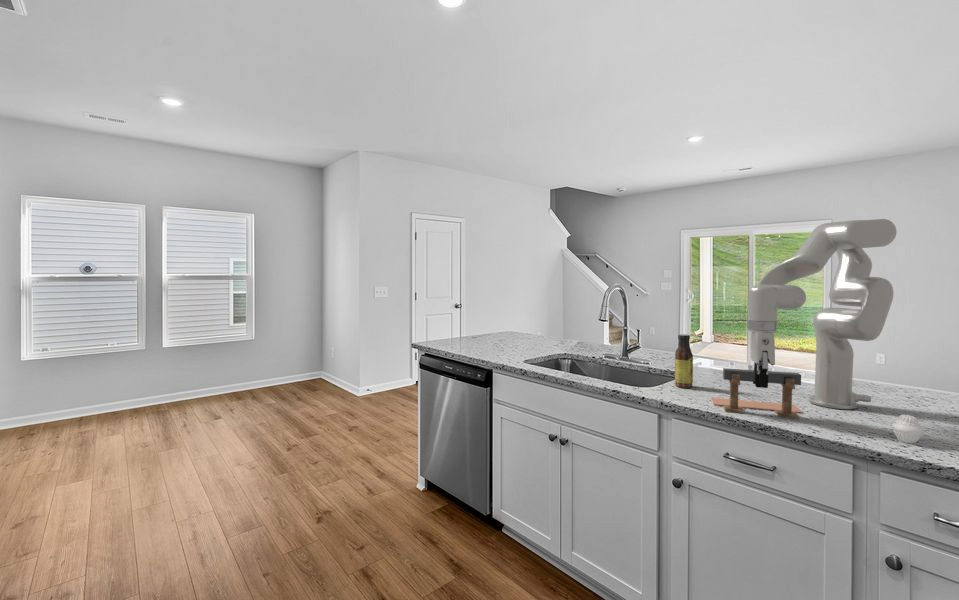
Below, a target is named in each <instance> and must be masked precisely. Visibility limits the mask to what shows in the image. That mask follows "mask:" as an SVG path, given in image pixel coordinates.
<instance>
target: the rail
mask: <svg viewBox="0 0 959 600" xmlns="http://www.w3.org/2000/svg"><path fill="white" fill-rule="evenodd" d="M722 368H723V369H722V379H723V380H725V381H729V380H732V374H737V375H740V382H750V383H751V382H752V383H753V382H755V381H756V374H757V370H754V369H742V368H739V369H738V368H725V367H722ZM786 378H794V379H795V380H794V385H795V386H802V375H801V374H800V373H799V372H789V371H788V372H786V371H775V370H774V371H773V370H770V371H769V370H768V384H778V385H779V384H780V385H781V384H785V380H786Z"/></svg>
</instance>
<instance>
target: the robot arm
mask: <svg viewBox="0 0 959 600" xmlns="http://www.w3.org/2000/svg"><path fill="white" fill-rule="evenodd" d="M897 233H898V232H897V227H896V225H895V224H894V223H893V221H891V220H889V219H886V218H877V219H876V218H875V219H860V220H859V219H855V220H844V221H834V222H833V221H832V222H827V223H826V222H824V223H822V224H819V225H818V226H816V227H815V228H814V229H813V230H812V232H811V233H810V234H809V235H808V237H807V238H806V239H805V241H804V242H803V243H802V245H800V247H799V249H798V250H797V251H796V253H795V254H794V255H793V256H792V257H790V258H788V259H785V261H783V262H782V263H781V262H780V264H778V265H776V266H775V267H773V268H771V269H770V270H769V271H767V272H766V273H765V274H764V275H763V276H762V278H760V280H759V282H758V283H757V285H753V286H751V287H750V288H749V289H748V303H747V304H748V306H747V307H748V308H747V332H750V333H751V334H750V336H751V337H750V359H751V361H753V370H757V374H756V381H755V382H752V384H754V386H755V387H756V388H761V389H767V388H768V387H769V383H768V371H769V365H771V366H775V365H776V350H775V349H776V345H775V333H777V331H778V310H788V311H792V310H797V309H799V308H801V307H802V306H803V305H805V303H806V301H807V294H806V292H805V291H804V289H803V288H801V287H800V286H796V285H794V284H793V285H791V284H790V285H789V283H791V282H794V281H796V280H800V279H803V278H807V277H809V276H813V275H815V274H817V273H819V272H821V271H822V270H823V269H824V268H825V267H826V265H827V263H828V262H829V261H830V260H831V258H832V257H833V256H834V254H835V253H836V255H837V257H838V259H837V260H838V265H837V269H836V271H835V274H834V277H833V280H832V283H831V286H830V289H829V293H828V297H829V300H830V301H831V303H833V304H835V305H838V306H846V307H857V309H856V308H844V307H825V308H822V309H821V308H820V309H819V310H817V312H816V313H815V314H814V316H813V319H812V321H813V330H814V333H815V342H816V343H815V347H816V348H815V350H816V351H815V367H814V369H815V371H814V372H815V373H814V377H815V378H814V394H813V395H810V396H808V402H809V403H811V404H814V405H816V406H820V407H825V408H830V409H837V410H855V409H857V408H858V406H859V405H858V403H859V402H863V403H872V397H871V396H870V395H863V394H860V393H859V394H857V393H855V392H853V370H854V356H855V354H854V350H853V347H852V345H851V343H850V341H849V340H853V341H855V340H856V341H861V342H870V341H874V340H876V339H877V338H878V337H880V335H881V334H882V331H883V329H884V326H885V325H886V321H887V317H888V316H889V311H890V309H891V306H892V303H893V299H894V287H893V285H892V283H891V282H890V281H889V280H888V279H887V278H884V277H878V276H870V275H871V272H872V269H873V262H872V259H871V258H870V256H869V255H868V253H866V251H865V250H864V249H870V248H878V247H879V248H881V247H886V246H888V245H890V244H891V243H892V242H894V240H895V239H896V237H897ZM858 308H859V309H858Z"/></svg>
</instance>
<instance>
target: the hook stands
mask: <svg viewBox="0 0 959 600" xmlns="http://www.w3.org/2000/svg"><path fill="white" fill-rule="evenodd" d="M794 380H795V379H794V378H786V380H785V384H780V385H781V386H782V389H781V390H782V398H781V404H782V410H775V411H774V413H775V414H777V415H778V416H777V415H776V416H777V417H778V418H785V417H788V418H787V419H796V418H797V419H799V414H798V413H795V411H791V410H792V405H793V401H792V400H793V390H796V385H794ZM728 381H729V399H730V406H729V405H724V406H723V410H724V412H725V413H726V412H727V413H733V412H734V414H735V413H736V414H745V409H744V408H742V407H740V406H738V400H739V386H741V381H740V375H737V374H732V380H728Z"/></svg>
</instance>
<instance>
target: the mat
mask: <svg viewBox="0 0 959 600" xmlns="http://www.w3.org/2000/svg"><path fill="white" fill-rule="evenodd" d="M711 401H713V402H712V403H713V406H716V407H724V405H729V406H730V398H720V397H711ZM738 406H740V407H742V408H743V409H746V408H754V409H753V410H757V409H763V410H762V411H768V410H773V411H772V412H775V410H782V403H781V402H779V403H778V402H768V401H767V402H766V401H757V400H755V401H754V400H746V399H744V400H742V399H738ZM791 411H795V413H796V414H801V413H802V414H803V411H802V410H801V409H800V408H799V407H798V406H797V405H796V404H792V410H791Z"/></svg>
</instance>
